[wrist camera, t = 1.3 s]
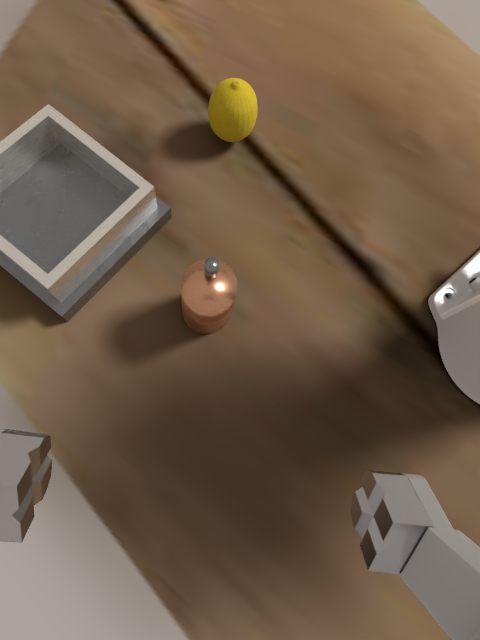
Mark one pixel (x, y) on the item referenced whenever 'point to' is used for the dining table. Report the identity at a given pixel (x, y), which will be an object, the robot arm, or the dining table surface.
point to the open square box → (69, 211)
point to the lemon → (232, 109)
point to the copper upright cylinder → (207, 295)
